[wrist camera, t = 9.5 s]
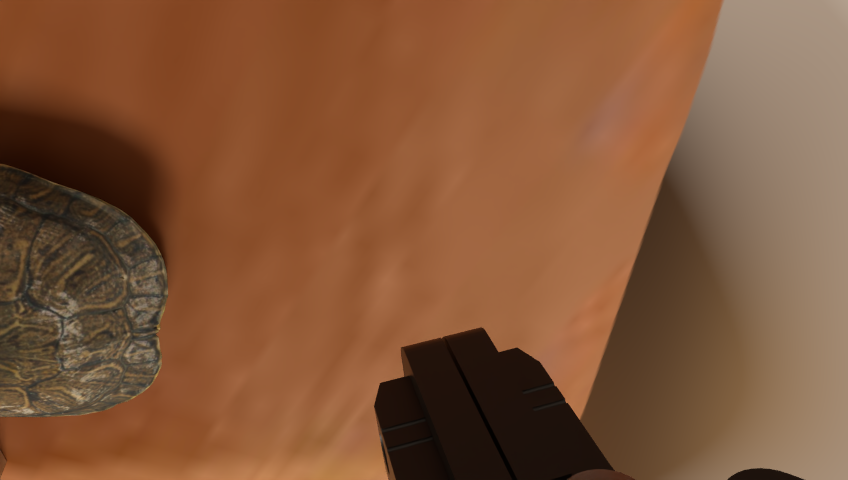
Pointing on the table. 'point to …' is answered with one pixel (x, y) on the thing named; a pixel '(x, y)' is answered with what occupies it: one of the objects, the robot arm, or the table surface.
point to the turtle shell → (74, 301)
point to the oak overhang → (2, 463)
